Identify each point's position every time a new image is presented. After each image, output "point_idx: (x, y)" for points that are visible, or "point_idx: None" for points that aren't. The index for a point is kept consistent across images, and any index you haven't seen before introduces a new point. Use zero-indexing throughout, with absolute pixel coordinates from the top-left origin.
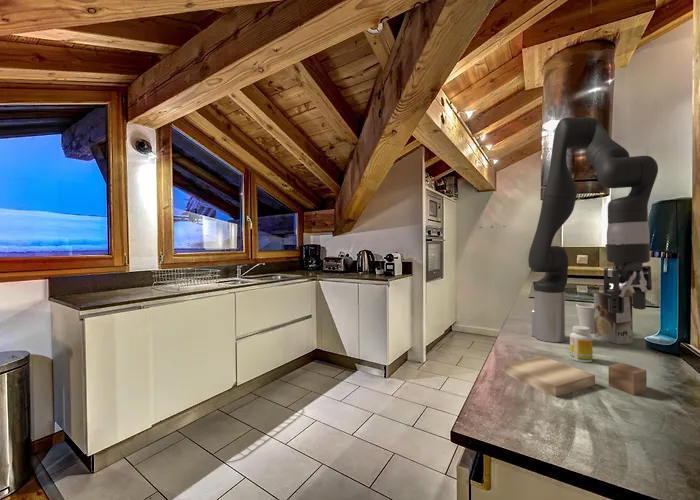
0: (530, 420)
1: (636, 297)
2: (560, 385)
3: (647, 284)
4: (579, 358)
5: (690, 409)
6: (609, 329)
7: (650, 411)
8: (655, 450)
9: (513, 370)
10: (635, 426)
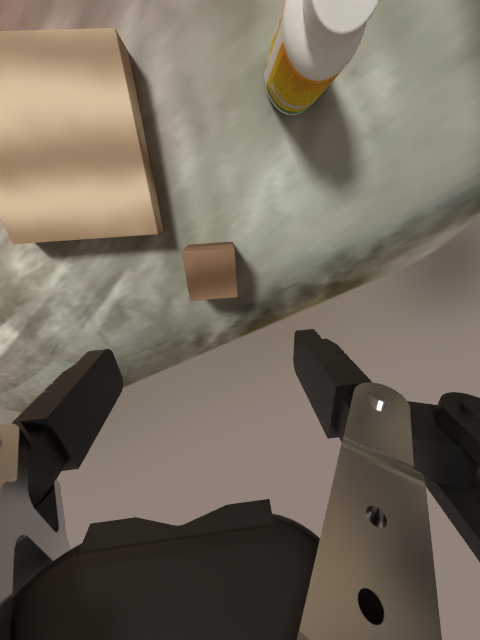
0: None
1: (319, 384)
2: (32, 242)
3: (451, 510)
4: (269, 90)
5: (227, 339)
6: None
7: (164, 327)
8: None
9: None
10: (101, 344)
